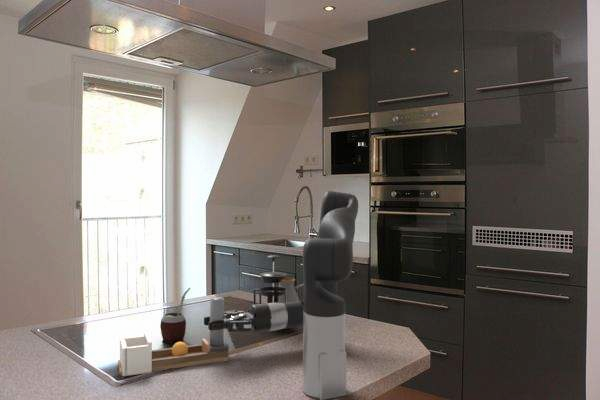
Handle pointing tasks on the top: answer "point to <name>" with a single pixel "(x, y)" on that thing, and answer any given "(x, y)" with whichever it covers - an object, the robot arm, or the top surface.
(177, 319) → the mate gourd
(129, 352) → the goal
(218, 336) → the grey tall cylindrical piece
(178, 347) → the ball
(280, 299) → the coffee pot
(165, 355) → the track
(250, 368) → the top surface
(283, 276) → the french press
